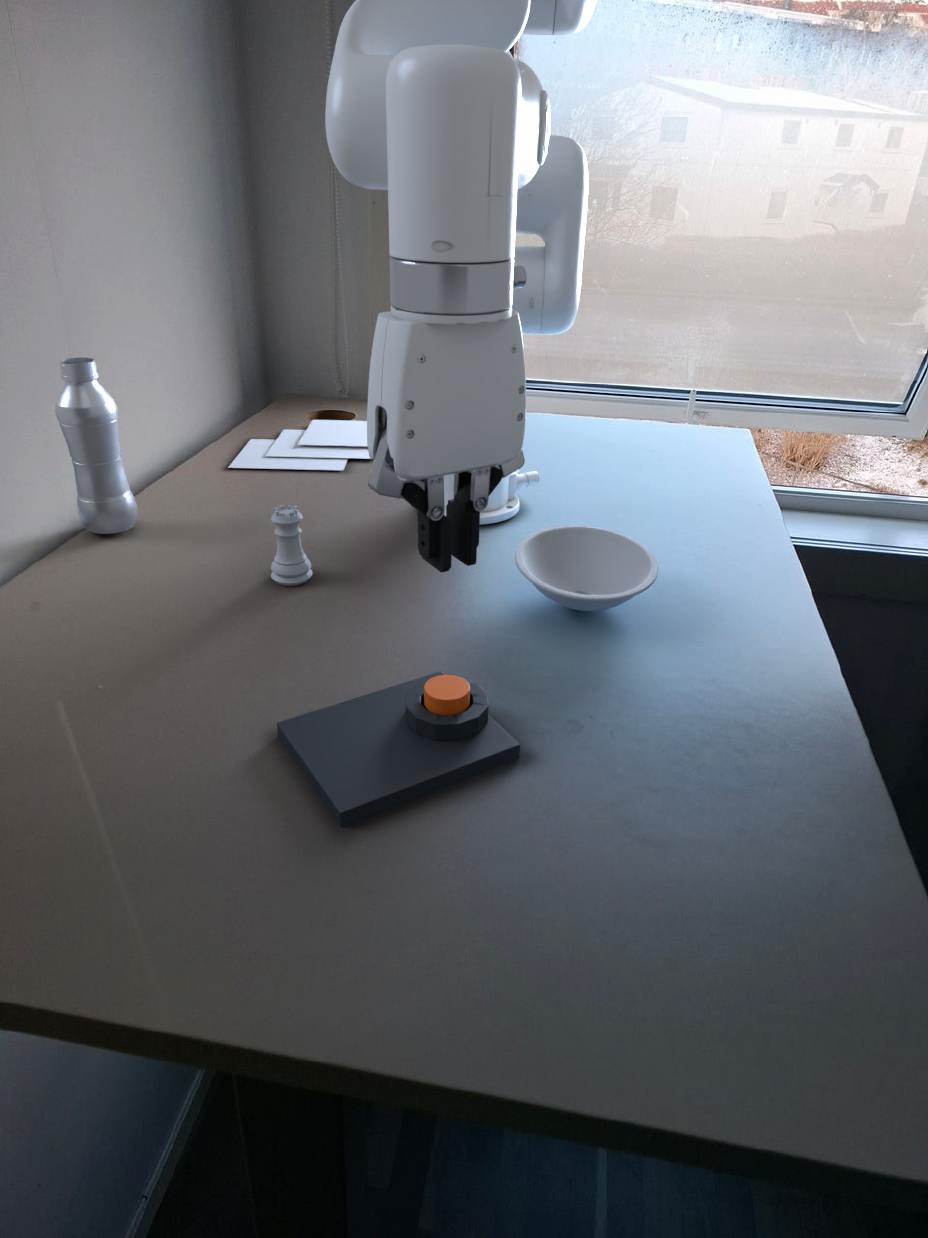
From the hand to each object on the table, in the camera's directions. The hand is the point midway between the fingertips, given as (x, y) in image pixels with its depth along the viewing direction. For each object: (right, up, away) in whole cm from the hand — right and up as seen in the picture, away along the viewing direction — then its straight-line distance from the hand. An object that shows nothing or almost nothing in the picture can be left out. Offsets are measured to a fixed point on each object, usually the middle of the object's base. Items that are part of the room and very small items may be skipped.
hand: (448, 560), depth 60 cm
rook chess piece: (-18, 0, +31) cm, 35 cm away
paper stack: (-20, +23, +71) cm, 78 cm away
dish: (+13, -3, +27) cm, 31 cm away
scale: (-4, -14, +5) cm, 16 cm away
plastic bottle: (-42, +6, +41) cm, 59 cm away
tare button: (0, -11, +6) cm, 13 cm away
